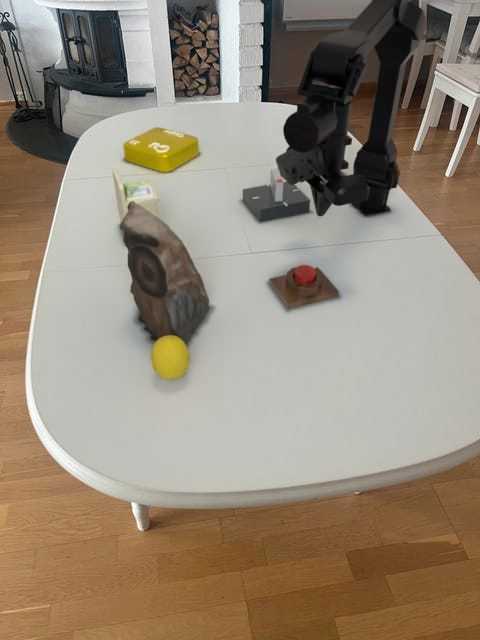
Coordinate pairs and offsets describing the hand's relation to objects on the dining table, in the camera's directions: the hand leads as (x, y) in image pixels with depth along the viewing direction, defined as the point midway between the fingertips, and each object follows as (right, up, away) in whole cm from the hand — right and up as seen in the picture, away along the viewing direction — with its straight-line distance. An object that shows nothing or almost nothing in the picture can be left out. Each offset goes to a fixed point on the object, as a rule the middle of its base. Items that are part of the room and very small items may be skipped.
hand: (320, 215), depth 93 cm
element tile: (-35, +24, +45) cm, 62 cm away
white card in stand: (-6, +9, +23) cm, 25 cm away
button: (-3, -11, 0) cm, 12 cm away
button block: (-3, -13, +1) cm, 14 cm away
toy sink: (-35, -1, +16) cm, 39 cm away
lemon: (-25, -27, -15) cm, 40 cm away
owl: (-25, -19, -5) cm, 32 cm away
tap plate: (-6, +7, +25) cm, 26 cm away
